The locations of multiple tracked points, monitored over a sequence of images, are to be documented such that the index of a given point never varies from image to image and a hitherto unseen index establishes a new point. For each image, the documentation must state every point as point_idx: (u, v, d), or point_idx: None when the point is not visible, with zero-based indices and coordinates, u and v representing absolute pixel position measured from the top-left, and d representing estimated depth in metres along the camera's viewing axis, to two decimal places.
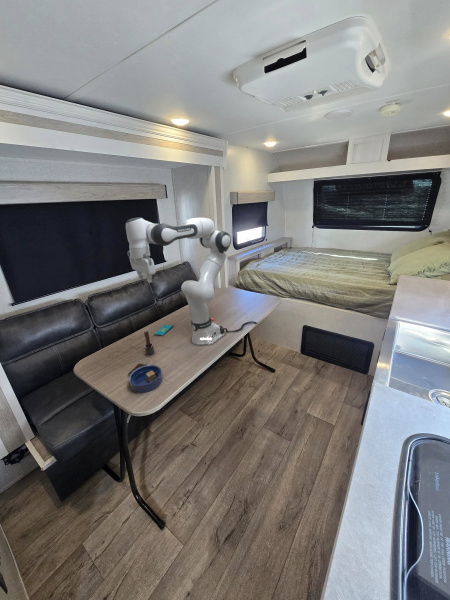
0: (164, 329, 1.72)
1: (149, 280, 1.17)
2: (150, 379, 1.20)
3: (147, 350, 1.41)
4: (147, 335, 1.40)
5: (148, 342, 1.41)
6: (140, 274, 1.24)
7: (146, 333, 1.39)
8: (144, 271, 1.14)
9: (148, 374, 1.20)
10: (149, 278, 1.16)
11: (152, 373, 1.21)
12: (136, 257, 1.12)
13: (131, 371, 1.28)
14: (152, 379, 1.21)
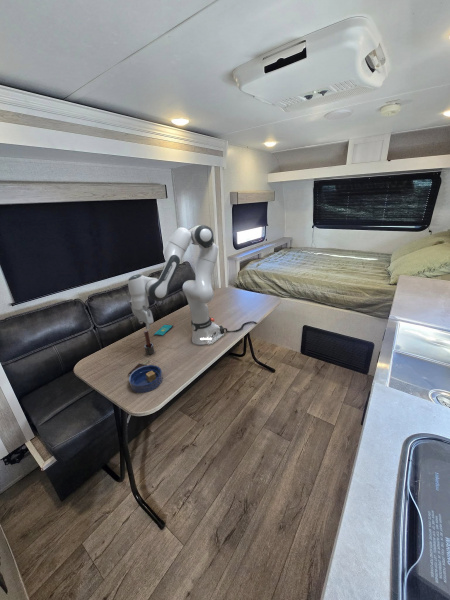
0: (164, 329, 1.72)
1: (148, 327, 1.33)
2: (150, 379, 1.20)
3: (147, 350, 1.41)
4: (147, 335, 1.40)
5: (148, 342, 1.41)
6: (140, 319, 1.41)
7: (146, 333, 1.39)
8: (143, 320, 1.31)
9: (148, 374, 1.20)
10: (148, 326, 1.33)
11: (152, 373, 1.21)
12: (137, 308, 1.29)
13: (131, 371, 1.28)
14: (152, 379, 1.21)
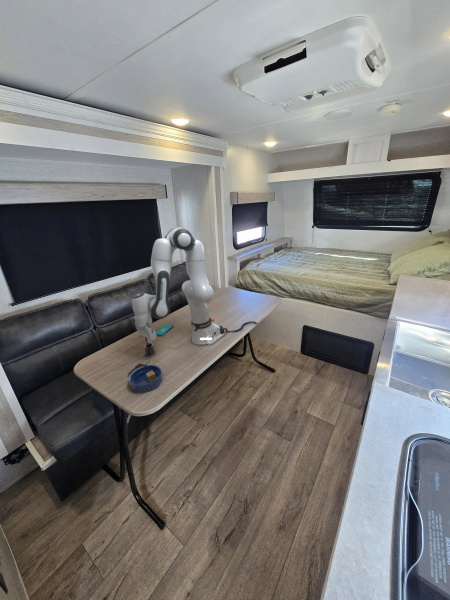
0: (164, 329, 1.72)
1: (149, 341, 1.40)
2: (150, 379, 1.20)
3: (147, 350, 1.41)
4: None
5: None
6: None
7: None
8: (147, 337, 1.35)
9: (148, 374, 1.20)
10: (149, 340, 1.39)
11: (152, 373, 1.21)
12: (140, 326, 1.33)
13: (131, 371, 1.28)
14: (152, 379, 1.21)
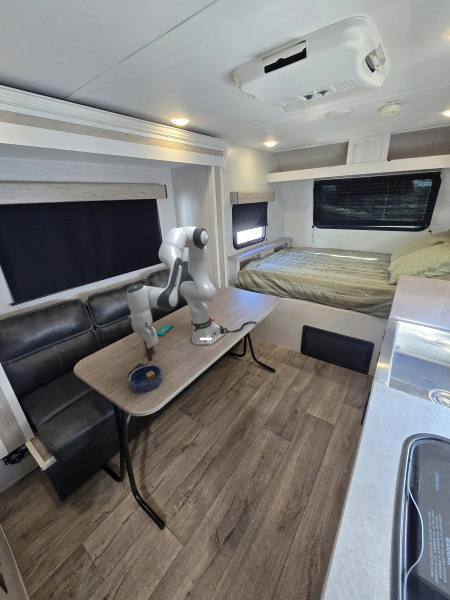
0: (164, 329, 1.72)
1: (148, 346, 1.12)
2: (150, 379, 1.20)
3: None
4: None
5: None
6: None
7: None
8: (146, 340, 1.07)
9: (148, 374, 1.20)
10: (148, 344, 1.11)
11: (152, 373, 1.21)
12: (138, 326, 1.05)
13: (131, 371, 1.28)
14: (152, 379, 1.21)
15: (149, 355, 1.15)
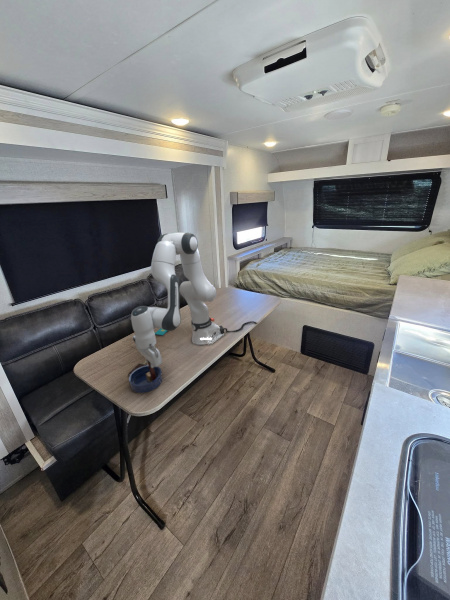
0: None
1: (152, 365, 1.14)
2: (150, 379, 1.20)
3: None
4: None
5: None
6: None
7: None
8: (150, 361, 1.09)
9: (148, 374, 1.20)
10: None
11: None
12: (142, 348, 1.07)
13: (131, 371, 1.28)
14: None
15: (153, 374, 1.17)
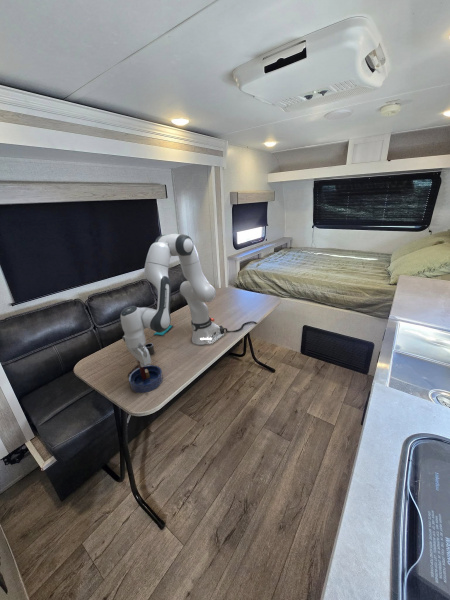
0: None
1: (142, 365, 1.16)
2: None
3: None
4: None
5: None
6: None
7: None
8: (139, 360, 1.11)
9: None
10: (142, 363, 1.15)
11: (146, 371, 1.22)
12: (131, 347, 1.09)
13: (131, 371, 1.28)
14: None
15: (143, 374, 1.19)
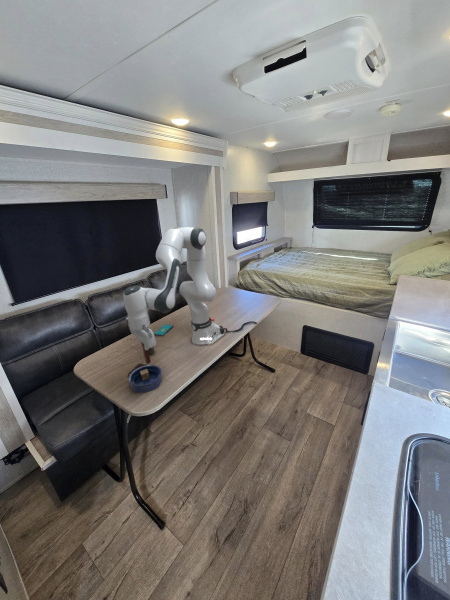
0: (164, 329, 1.72)
1: (146, 348, 1.11)
2: (143, 377, 1.21)
3: None
4: None
5: None
6: None
7: None
8: (144, 342, 1.06)
9: (142, 372, 1.22)
10: (146, 346, 1.10)
11: (146, 371, 1.22)
12: (135, 329, 1.04)
13: (131, 371, 1.28)
14: (145, 377, 1.22)
15: (147, 357, 1.14)
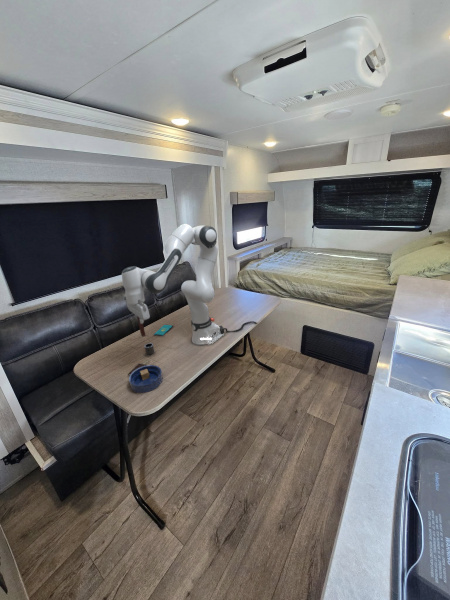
0: (164, 329, 1.72)
1: (141, 321, 1.27)
2: (143, 377, 1.21)
3: (147, 350, 1.41)
4: None
5: None
6: None
7: None
8: (139, 316, 1.22)
9: (142, 372, 1.22)
10: (141, 320, 1.26)
11: (146, 371, 1.22)
12: (131, 303, 1.20)
13: (131, 371, 1.28)
14: (145, 377, 1.22)
15: (142, 330, 1.30)
